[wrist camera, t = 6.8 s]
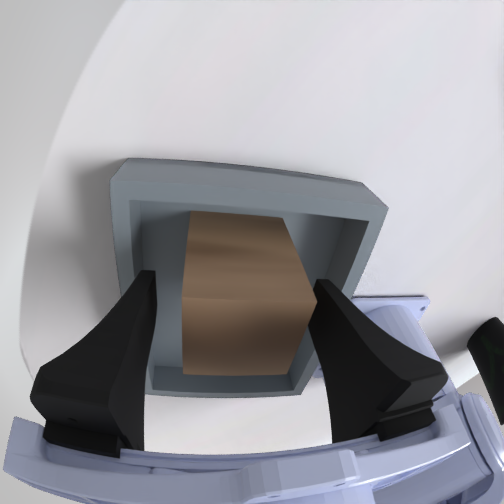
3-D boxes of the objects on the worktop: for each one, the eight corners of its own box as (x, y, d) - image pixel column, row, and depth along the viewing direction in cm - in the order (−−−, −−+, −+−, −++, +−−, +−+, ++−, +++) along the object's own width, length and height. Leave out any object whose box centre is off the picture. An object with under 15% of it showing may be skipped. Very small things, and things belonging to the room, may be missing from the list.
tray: (293, 365, 24) (300, 394, 21) (146, 362, 22) (143, 393, 19) (362, 182, 15) (388, 207, 13) (128, 158, 13) (109, 180, 11)
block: (266, 286, 17) (286, 374, 12) (187, 282, 17) (182, 374, 12) (282, 217, 15) (317, 301, 10) (190, 210, 14) (181, 297, 9)
